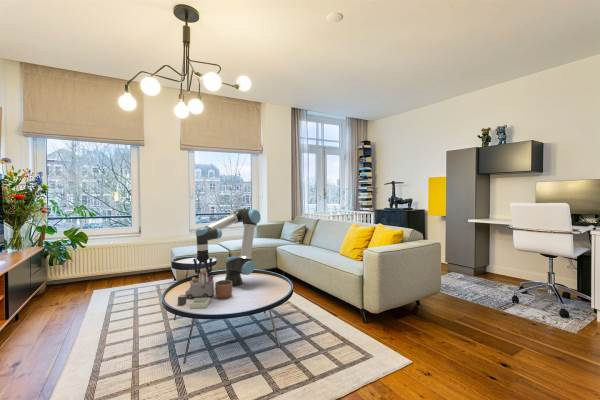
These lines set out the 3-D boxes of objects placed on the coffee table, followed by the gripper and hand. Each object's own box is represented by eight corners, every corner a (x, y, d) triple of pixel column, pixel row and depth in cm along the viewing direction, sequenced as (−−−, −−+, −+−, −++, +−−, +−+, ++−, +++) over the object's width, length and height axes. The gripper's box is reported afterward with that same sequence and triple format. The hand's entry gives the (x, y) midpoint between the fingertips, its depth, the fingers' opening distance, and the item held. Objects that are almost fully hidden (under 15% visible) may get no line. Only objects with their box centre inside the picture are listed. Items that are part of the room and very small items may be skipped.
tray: (210, 302, 204) (210, 297, 204) (206, 308, 194) (206, 303, 194) (195, 303, 203) (194, 297, 203) (190, 309, 193) (190, 303, 193)
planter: (223, 301, 206) (223, 286, 206) (211, 298, 213) (211, 283, 213) (236, 295, 217) (235, 281, 217) (224, 292, 223) (224, 279, 223)
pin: (206, 287, 208) (206, 270, 208) (205, 288, 205) (204, 272, 204) (201, 287, 208) (200, 270, 208) (199, 289, 204) (199, 272, 204)
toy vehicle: (188, 295, 219) (188, 275, 219) (214, 294, 221) (214, 275, 220) (184, 299, 210) (184, 279, 209) (212, 298, 211) (211, 278, 211)
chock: (186, 303, 204) (186, 294, 204) (184, 305, 199) (183, 297, 199) (180, 303, 203) (180, 294, 203) (178, 306, 198) (177, 297, 198)
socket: (208, 299, 209) (208, 296, 209) (207, 302, 204) (206, 299, 204) (200, 300, 209) (200, 296, 209) (198, 302, 204) (198, 299, 204)
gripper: (216, 248, 210) (217, 279, 211) (191, 249, 209) (193, 280, 210) (213, 250, 202) (214, 283, 203) (188, 251, 201) (190, 284, 202)
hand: (203, 281), depth 207 cm, fingers open, 4 cm apart
